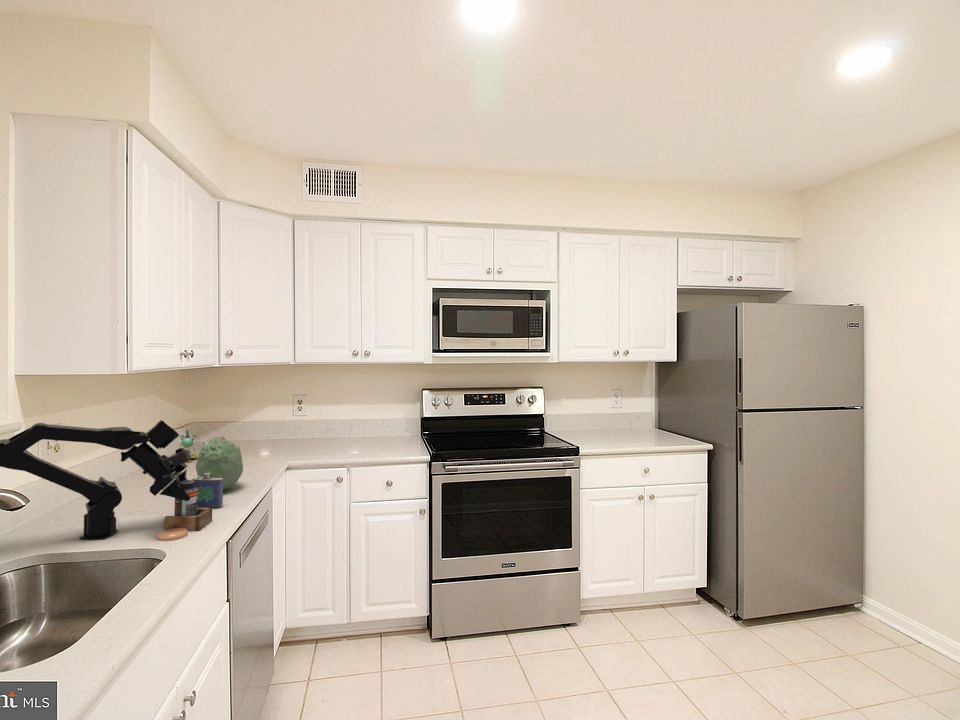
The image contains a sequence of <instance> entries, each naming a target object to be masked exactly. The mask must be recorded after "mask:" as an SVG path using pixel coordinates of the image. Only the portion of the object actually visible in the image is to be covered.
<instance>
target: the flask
mask: <svg viewBox="0 0 960 720" xmlns="http://www.w3.org/2000/svg"><path fill="white" fill-rule="evenodd" d="M210 474H211V473H205V476H203V477H202V478H200V476H199V477H198V476H196V477H193V478H192V479H191V480H193V481H194V484H195V485H194V487H196V488H197V489H198V505H197V508H212V509H214V510H215V509H221V508H222V507H223V506H224V500H223V498H224V490H223V478H210Z"/></svg>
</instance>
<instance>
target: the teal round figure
mask: <svg viewBox="0 0 960 720" xmlns="http://www.w3.org/2000/svg"><path fill="white" fill-rule="evenodd" d="M195 438H197V436H196V435H194V434H193V435H192V437H191V435H189V429H186V430H185V435H184V434H182V435H180V440H181V443H180V445H179V447H181V446H182V448H184V449H185V448H186V449H187V450H188V451H190V453H189V454H190V456H191V458H192V459H197V457H198V454H199V453H198V454H195V453H192V450H193V451H194V452H195V451H196V448H195V446H194V440H195ZM191 447H192V448H193V449H192V450H191ZM192 459H190V460H189V461H188V462H186V463H187V464H188V463H189V464H190V463H192V461H193V460H192Z"/></svg>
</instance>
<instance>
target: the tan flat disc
mask: <svg viewBox="0 0 960 720" xmlns="http://www.w3.org/2000/svg"><path fill="white" fill-rule="evenodd" d="M188 532H189V531H188V530H187V529H185V528H170V529H165V530H164V529H163V530H159V531H157V533H156V534H155V539H156V540H157V541H161V542H169V541H175V540H180V539H182V538H185V537H187V536H188Z"/></svg>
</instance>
